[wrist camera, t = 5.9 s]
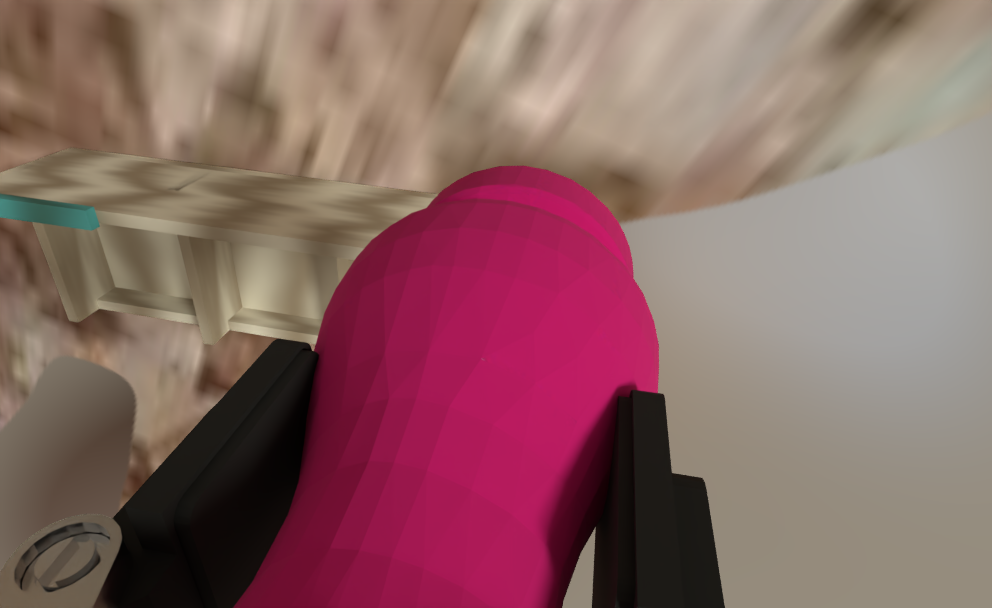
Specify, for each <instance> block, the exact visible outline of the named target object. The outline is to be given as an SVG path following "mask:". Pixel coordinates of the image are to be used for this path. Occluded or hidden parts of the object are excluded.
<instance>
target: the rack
mask: <svg viewBox="0 0 992 608" xmlns="http://www.w3.org/2000/svg"><path fill="white" fill-rule="evenodd" d="M437 195H438V194H432V193H424V192H416V191H409V190H401V189H393V188H385V187H377V186H369V185H361V184H354V183H346V182H338V181H330V180H322V179H314V178H306V177H299V176H291V175H283V174H275V173H267V172H259V171H252V170H244V169H236V168H228V167H220V166H212V165H204V164H197V163H189V162H181V161H173V160H165V159H157V158H149V157H142V156H134V155H126V154H118V153H110V152H102V151H94V150H87V149H79V148H69V149H66V150H63V151H60V152H57V153H54V154H52V155H49V156H46V157H43V158H40V159H37V160H35V161H32V162H29V163H26V164H23V165H20V166H17V167H15V168H12V169H9V170H6V171H3V172H0V217H2V218H9V219H15V220H22V221H29V222H32V224H33V226H34V229H35V231H36V234H37V237H38V239H39V242H40V245H41V247H42V250H43V253H44V255H45V258H46V261H47V263H48V266H49V268H50V271H51V274H52V276H53V279H54V282H55V284H56V287H57V290H58V292H59V295H60V298H61V300H62V303H63V305H64V308H65V311H66V313H67V316H68V319H69V321H74V322H80V321H82V320H83V319H85V318H86V317H88V316H89V315H91V314H92V313H94V312H95V311H97V310H98V309H105V310H111V311H117V312H123V313H129V314H135V315H141V316H147V317H153V318H159V319H166V320H172V321H178V322H184V323H190V324H196V325H199V327H200V331H201V335H202V340H203V343H204V344H210V345H214V344H215V343H216V342H217V341H219V340H220V339H221V338H222V337H223V336H224V335H225V334H226V333H227V332H228V331H229V330H232V331H238V332H245V333H251V334H257V335H263V336H269V337H275V338H281V339H287V340H293V341H300V342H306V343H311V344H316V342H317V338H318V334H319V331H320V327H321V323H322V320H323V316H324V313H325V310H326V308H327V306H328V304H329V302H330V300H331V298H332V296H333V293H334V291H335V289H336V288H337V286H338V285H339V283H340V282H341V280H342V279H343V277H344V275H345V274H346V272H347V271H348V269H349V268H350V266H351V265H352V263H353V262H354V260H355V259H356V257H357V256H358V255H359V254H360V253H361V252H362V250H363V249H364V248H365V247H366V246H367V245H368V244H369V242H370V241H371V240H372V239H374V238H375V237H376V236H378V235H379V234H380V233H381V232H383V231H384V230H385V229H387V228H388V227H389V226H391V225H392V224H394V223H396V222H397V221H399V220H401V219H402V218H404V217H406V216H407V215H409V214H411V213H413V212H416V211H419V210H422V209H425V208H427V207H428V205H429V204H430V203H431V202H432V200H433V199H434V198H435V197H436V196H437Z"/></svg>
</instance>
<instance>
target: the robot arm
mask: <svg viewBox="0 0 992 608" xmlns="http://www.w3.org/2000/svg"><path fill="white" fill-rule="evenodd" d="M318 357H319V354H318V353H317V352H315V351H312V349H311V346H310V345H309V344H308V343H306V342H300V341H293V340H286V339H276V340H275V341H273V342H272V343H271V344H270V345H269V347H268V348H267V349H266V350H265V351H264V352H263V353H262V354H261V355H260V357H259V358H258V359H257V360H256V361H255V362H254V363H253V364H252V365H251V367H250V368H249V369H248V370H247V371H246V372H245V373H244V374H243V375H242V377H241V378H240V379H239V380H238V381H237V382H236V383H235V384H234V385H233V387H232V388H231V389H230V390H229V391H228V392H227V393H226V394H225V395H224V397H223V398H222V399H221V400H220V401H219V402H218V403H217V404H216V405H215V406H214V407H213V408H212V409H211V410H210V411H209V412H208V413H207V414H206V415H205V416H204V418H203V419H202V420H201V421H200V422H199V423H198V424H197V425H196V426H195V428H194V429H193V430H192V431H191V432H190V433H189V434H188V435H187V436H186V438H185V439H184V440H183V441H182V442H181V443H180V444H179V445H178V446H177V447H176V449H175V450H174V451H173V452H172V453H171V454H170V455H169V456H168V457H167V459H166V460H165V461H164V462H163V463H162V464H161V465H160V466H159V467H158V469H157V470H156V471H155V472H154V473H153V474H152V475H151V476H150V477H149V479H148V480H147V481H146V482H145V483H144V484H143V485H142V486H141V487H140V489H139V490H138V491H137V492H136V493H135V494H134V495H133V496H132V497H131V499H130V500H129V501H128V502H127V503H126V504H125V505H124V506H123V507H122V508H121V510H120V511H119V512H118V513H117V514H116V515H115V516H114V518H109V517H107V516H104V515H101V514H83V515H78V516H73V517H68V518H66V519H64V520H61V521H58V522H55V523H53V524H51V525H49V526H47V527H45V528H44V529H42V530H40V531H39V532H37V533H35V534H34V535H32V536H31V537H30V538H29V539H27V540H26V541H25V542H24V543H23V544H21V545H20V546H19V547H18V548H17V549H16V551H15V552H14V553H13V554H12V556H11V557H10V558H9V559H8V560H7V562H6V563H5V565H4V567H3V568H2V570H1V571H0V608H233V607H234V606H235V604H236V603H237V602H238V600H239V599H240V598H241V596H242V595H243V594H244V592H245V591H246V590H247V588H248V587H249V586H250V584H251V583H252V582H253V580H254V578H255V576H256V574H257V572H258V570H259V568H260V567H261V565H262V563H263V561H264V559H265V557H266V555H267V553H268V551H269V549H270V548H271V546H272V544H273V542H274V540H275V538H276V536H277V534H278V532H279V531H280V529H281V527H282V525H283V523H284V521H285V519H286V517H287V515H288V513H289V510H290V507H291V504H292V500H293V497H294V494H295V491H296V488H297V485H298V481H299V475H300V468H301V461H302V453H303V446H304V439H305V432H306V418H307V413H308V407H309V401H310V395H311V390H312V384H313V378H314V373H315V369H316V365H317V361H318ZM592 608H725V606H724V599H723V593H722V587H721V580H720V574H719V567H718V561H717V555H716V548H715V542H714V535H713V529H712V523H711V516H710V509H709V503H708V497H707V490H706V486H705V482H704V480H703V479H702V478H699V477H692V476H687V475H681V474H674V473H672V471H671V460H670V450H669V439H668V428H667V417H666V406H665V398H664V395H663V394H660V393H653V392H646V391H639V390H631V392H630V395H629V397H623V396H618V406H617V415H616V425H615V434H614V443H613V453H612V462H611V469H610V476H609V484H608V491H607V497H606V501H605V506H604V510H603V515H602V516H601V518H600V520H599V522H598V523H597V525H596V533H595V554H594V576H593V596H592Z"/></svg>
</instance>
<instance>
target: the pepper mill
mask: <svg viewBox="0 0 992 608" xmlns="http://www.w3.org/2000/svg"><path fill="white" fill-rule="evenodd" d="M632 264H633V263H632V257H631V252H630V248H629V245H628V242H627V240H626V237H625V234H624V232H623V231H622V229H621V227H620V225H619V223H618V221H617V220H616V219H615V217H614V216H613V215H612V213H611V212H610V210H609V209H608V208H607V207H606V206H605V205H604V204H603V203H602V202H601V201H600V200H598V199H597V198H596V197H595V196H594V195H593V194H592V193H591V192H590V191H588V190H587V189H585V188H584V187H582V186H581V185H579V184H577V183H576V182H574V181H573V180H571V179H569V178H566V177H564V176H561V175H558V174H556V173H553V172H551V171H548V170H544V169H539V168H533V167H528V166H499V167H495V168H490V169H486V170H481V171H477V172H473V173H471V174H469V175H467V176H465V177H463V178H461V179H459V180H457V181H456V182H454V183H453V184H451V185H450V186H448V187H447V188H445V189H444V190H443V191H441V192H440V193H439V194H438V195H437V196H436V197H435V198H434V199H433V200H432V202H431V203H430V204H429V205H428V207H427V208H425V209H422V210H419V211H416V212H413V213H411V214H409V215H407V216H406V217H404V218H402V219H401V220H399V221H397V222H396V223H394V224H392V225H391V226H389V227H388V228H387V229H385V230H384V231H383V232H381V233H380V234H379V235H378V236H376V237H375V238H374V239H372V240H371V241H370V242H369V244H368V245H367V246H366V247H365V248H364V249H363V250H362V252H361V253H360V254H359V255H358V256H357V257H356V259H355V260H354V262H353V263H352V265H351V266H350V268H349V269H348V271H347V272H346V274H345V275H344V277H343V279H342V280H341V282H340V283H339V285H338V286H337V288H336V289H335V291H334V293H333V296H332V298H331V300H330V302H329V304H328V306H327V308H326V310H325V313H324V316H323V320H322V323H321V327H320V331H319V334H318V338H317V342H316V345H315V349H314V351H315V352H317V353H318V354H319V357H318V361H317V365H316V369H315V373H314V378H313V384H312V390H311V395H310V401H309V407H308V413H307V418H306V432H305V439H304V446H303V453H302V461H301V468H300V475H299V481H298V485H297V488H296V491H295V494H294V497H293V500H292V504H291V507H290V510H289V513H288V515H287V517H286V519H285V521H284V523H283V525H282V527H281V529H280V531H279V532H278V534H277V536H276V538H275V540H274V542H273V544H272V546H271V548H270V549H269V551H268V553H267V555H266V557H265V559H264V561H263V563H262V565H261V567H260V568H259V570H258V572H257V574H256V576H255V578H254V580H253V582H252V583H251V584H250V586H249V587H248V588H247V590H246V591H245V592H244V594H243V595H242V596H241V598H240V599H239V600H238V602H237V603H236V604H235V606H234V607H233V608H562V606H563V600H564V597H565V595H566V592H567V589H568V586H569V583H570V581H571V578H572V575H573V572H574V570H575V567H576V564H577V561H578V559H579V556H580V553H581V551H582V550H583V548H584V546H585V544H586V542H587V541H588V539H589V537H590V536H591V534H592V532H593V530H594V528H595V527H596V525H597V523H598V522H599V520H600V518H601V516H602V515H603V510H604V506H605V501H606V497H607V491H608V484H609V476H610V469H611V462H612V453H613V443H614V434H615V425H616V415H617V406H618V396H623V397H629V395H630V392H631V390H639V391H646V392H653V393H658V374H659V344H658V339H657V334H656V329H655V325H654V321H653V318H652V315H651V312H650V310H649V307H648V305H647V303H646V300H645V297H644V295H643V293H642V291H641V290H640V288H639V286H638V285H637V283H636V282H635V280H634V279H633V265H632Z"/></svg>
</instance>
